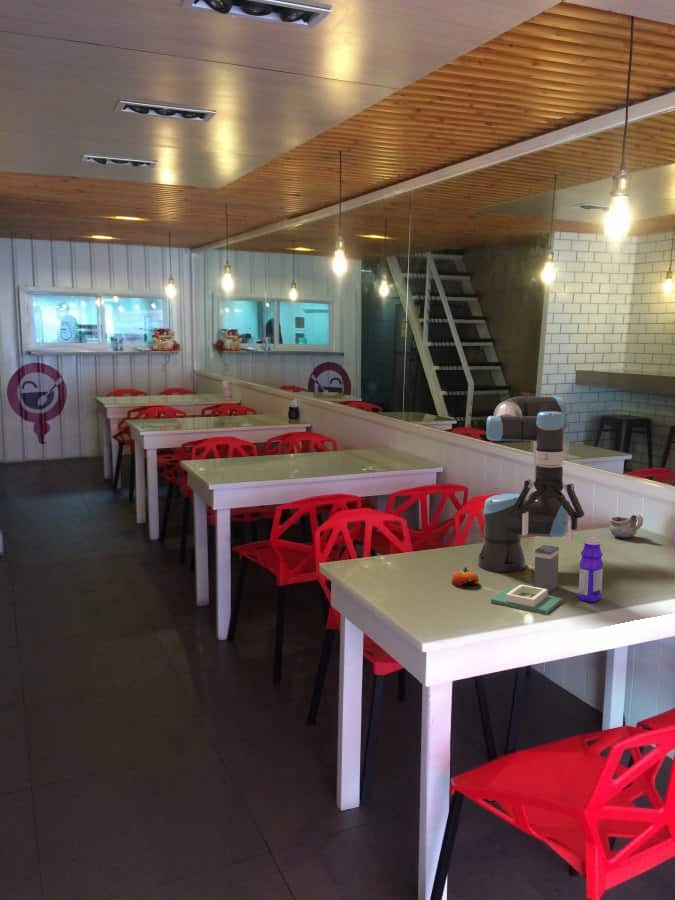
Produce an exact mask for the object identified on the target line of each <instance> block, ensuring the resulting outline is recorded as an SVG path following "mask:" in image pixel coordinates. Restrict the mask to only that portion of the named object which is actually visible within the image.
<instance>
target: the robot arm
mask: <svg viewBox="0 0 675 900" xmlns="http://www.w3.org/2000/svg"><path fill="white" fill-rule="evenodd" d="M568 428H569V411H568V405H567V400H566V399H565V398H564V397H562V396H554V395H550V396H522V395H521V396H515V397H511V398H508V399H505V400H502V401H501V402H500V403H499V404H497V406H496V407H495V409H494V412H493V415H488V417H487V419H486V429H485V430H486V439H487V440H489V441H496V442H499V441H506V442H507V441H508V442H510V441H513V442H514V441H515V442H517V441H520V442H533V466H532V467H533V472H532V473H533V474H532V475H533V479H532V480H531V479H527V480H525V481H524V484H523V488H522V491H520V494H519V493H501V494H495V495H492V496H489V497H488V498H486V499H485V501H484V510H483V514H484V517H483V518H484V525H483V527H484V528H483V543H482V546H481V549H480V551H479V555H478V557H477V559H478V560H477V565H478V567H479V568H482V569H483V570H487V571H492V572H498V573H499V572H500V573H511V572H512V573H514V572H518V571H522V570H525V568H526V567H527V566H526V563H527V562H526V557H525V553H524V551H523V547H522V545H521V544H522V543H521V540H522V539H521V536H523V537H525V536H527V537H529V536H530V537H542V538H543V537H545V538H546V537H548V538H562V537H564V536H566V534H567V542H572V541H574V534H575V533H574V532H575V530H577V529H578V519H579V518H582V517H584V516H585V512H584V509H583V508H582V506H581V504H580V501H579V499H578V496H577V495H576V492H575V485H574V484H573V483H567V484H566V483H564V482H563V477H564V476H563V475H564V474H563V473H564V471H563V470H564V467H563V466H562V465H563V464H564V437H565V431H566V430H568ZM531 488H533V489H532V491H531V492H530V490H531ZM563 489H564V491H565V492H566V493H567V496H568V499H569V500H570V501H569V500H567V498H566V495H565V494H564V493H563V492H562V490H563ZM529 492H530V493H529ZM526 497H527V498H526ZM571 504H572V505H571Z"/></svg>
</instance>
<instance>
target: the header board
mask: <svg viewBox="0 0 675 900" xmlns="http://www.w3.org/2000/svg"><path fill="white" fill-rule="evenodd" d="M562 602H563V597H559V596H552V595H548V589H543V588H538V587H534V586H531V585H525V584H519V585H518V586H516V587H514V588H511V587H508V588H506V589H504V590H503V591H501V592H500V593H498V594H497V595H495V596H493V597H492V598H491V599H490V603H491V604H495V605H499V606H506V607H508V608H509V607H510V608H514V609H521V610H525V611H529V612H535V613H539V614H544V615H548V614H549V613H551V611H553V610H554V609H555V608H557V607H558V606H559V605H560V604H562Z"/></svg>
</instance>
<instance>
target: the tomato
mask: <svg viewBox="0 0 675 900" xmlns="http://www.w3.org/2000/svg"><path fill="white" fill-rule="evenodd" d="M470 581H471V582H472V583H474V584H475V585H478V583H479V582H480V578H479V576H478V574H477V573H476V572H474V571H470V570H469V569H468V567H466V566H465V567H464V568H463V569H462V570H461V569H460V570H457V571H456V572H454V574H453V575H452V577H451V584H452V585H454V586H456V587H457V588H460V587H461V586H462V585H463V584H466V583H467V582H468V583H469V582H470Z"/></svg>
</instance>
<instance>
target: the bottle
mask: <svg viewBox="0 0 675 900" xmlns="http://www.w3.org/2000/svg"><path fill="white" fill-rule="evenodd" d="M580 555H581V559H580V562H579V581H578V598H579V600H581V601H585V602H589V603H594V602H598V601H600V599H601V598H602V595H603V592H602V591H603V571H604V570H603V569H604V563H603V559H602V557H603V552H602V550H601V539H600V538H597V537H595V536H593V537H592V536H591V537H590V536H589V537H585V538H584V546H583V549H582V551H581V552H580Z"/></svg>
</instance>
